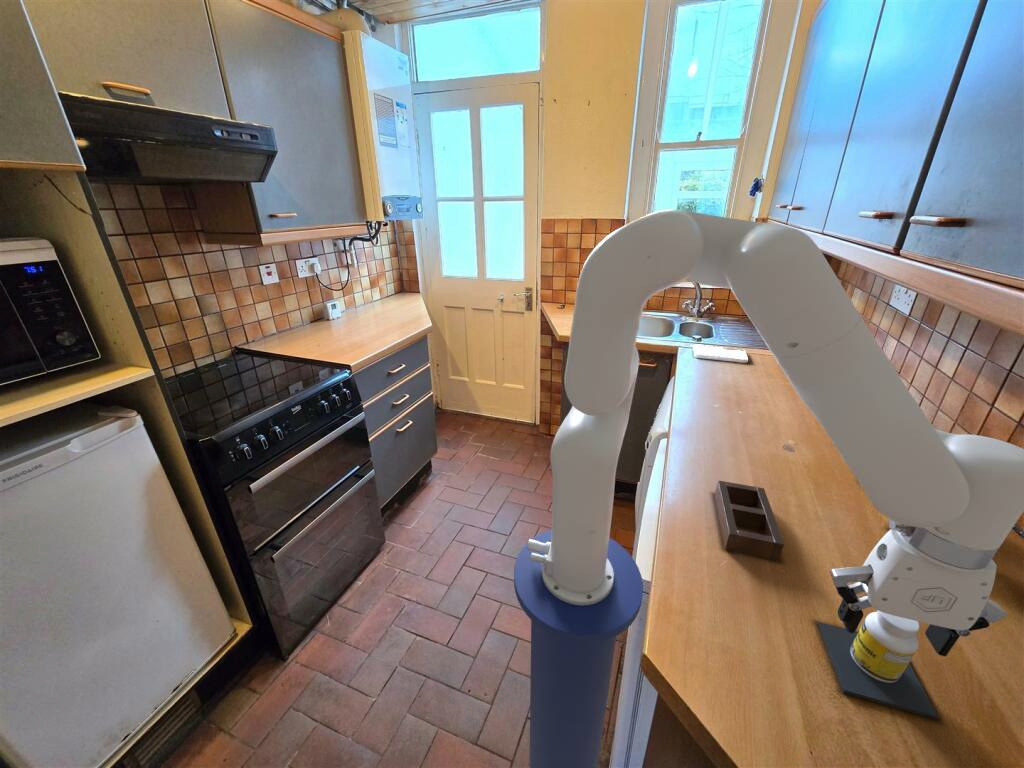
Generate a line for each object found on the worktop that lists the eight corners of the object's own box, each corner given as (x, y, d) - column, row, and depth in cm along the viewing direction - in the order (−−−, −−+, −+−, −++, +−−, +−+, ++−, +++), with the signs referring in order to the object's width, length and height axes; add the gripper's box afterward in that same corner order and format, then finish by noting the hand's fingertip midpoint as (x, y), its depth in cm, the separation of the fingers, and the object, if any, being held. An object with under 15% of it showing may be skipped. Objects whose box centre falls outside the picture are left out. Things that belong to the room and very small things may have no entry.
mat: (842, 692, 54) (844, 690, 54) (817, 624, 63) (818, 621, 62) (936, 719, 51) (938, 716, 51) (896, 644, 60) (898, 641, 59)
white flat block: (693, 347, 179) (694, 343, 178) (743, 352, 172) (744, 348, 172) (693, 357, 168) (694, 353, 167) (748, 363, 161) (749, 359, 160)
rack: (724, 549, 76) (729, 533, 74) (714, 494, 90) (718, 480, 88) (778, 561, 73) (784, 544, 72) (759, 502, 88) (763, 488, 86)
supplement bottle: (842, 639, 60) (865, 593, 56) (887, 650, 58) (914, 604, 54) (858, 677, 55) (885, 629, 51) (907, 690, 54) (938, 642, 49)
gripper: (869, 543, 46) (822, 640, 53) (1074, 583, 41) (992, 685, 48) (843, 500, 52) (804, 592, 60) (1017, 531, 47) (953, 627, 55)
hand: (888, 633), depth 54 cm, fingers open, 9 cm apart
